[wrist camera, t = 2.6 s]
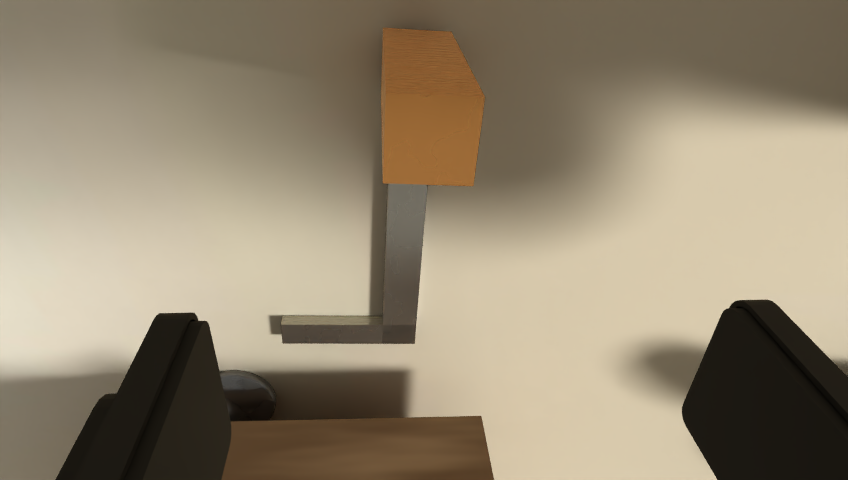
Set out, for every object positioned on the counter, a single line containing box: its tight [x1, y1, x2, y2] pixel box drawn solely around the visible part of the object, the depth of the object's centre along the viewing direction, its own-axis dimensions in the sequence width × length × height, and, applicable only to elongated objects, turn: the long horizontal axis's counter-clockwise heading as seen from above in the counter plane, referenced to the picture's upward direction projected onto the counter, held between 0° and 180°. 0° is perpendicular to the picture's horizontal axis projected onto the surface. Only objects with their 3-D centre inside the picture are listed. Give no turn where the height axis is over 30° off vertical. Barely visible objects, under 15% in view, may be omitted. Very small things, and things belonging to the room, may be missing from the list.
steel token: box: [220, 370, 276, 421], centre depth 36 cm, size 5×5×1 cm
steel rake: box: [281, 28, 485, 344], centre depth 25 cm, size 18×8×10 cm, turn 176°
